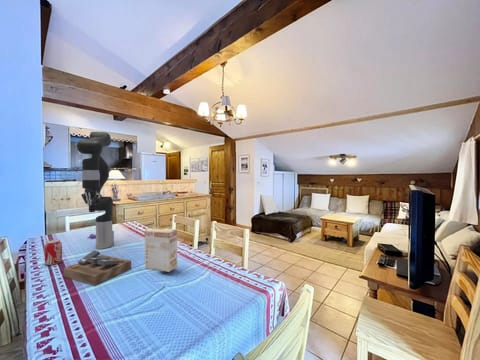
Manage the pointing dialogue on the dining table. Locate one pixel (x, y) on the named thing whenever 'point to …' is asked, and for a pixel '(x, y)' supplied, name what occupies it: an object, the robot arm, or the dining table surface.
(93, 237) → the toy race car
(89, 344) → the dining table surface
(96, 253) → the rocker
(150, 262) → the coffeecake box
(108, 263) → the rocker
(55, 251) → the soda can
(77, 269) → the switch unit
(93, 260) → the rocker
